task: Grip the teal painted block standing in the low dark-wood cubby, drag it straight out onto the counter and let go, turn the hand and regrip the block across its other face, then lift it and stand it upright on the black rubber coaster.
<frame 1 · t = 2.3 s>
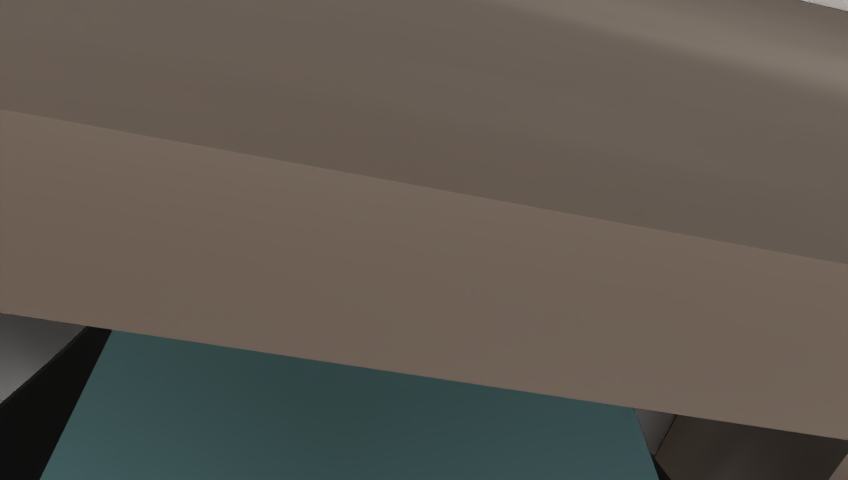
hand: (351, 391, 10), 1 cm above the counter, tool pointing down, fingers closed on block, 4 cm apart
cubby: (356, 322, 11), on the counter
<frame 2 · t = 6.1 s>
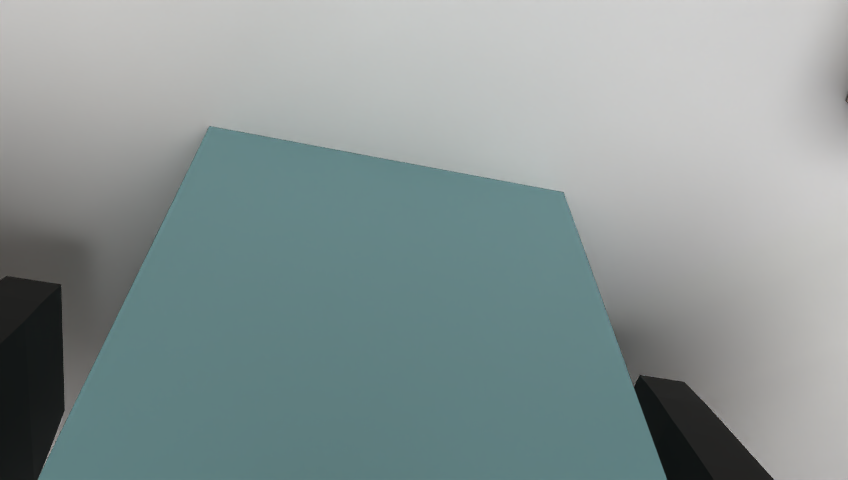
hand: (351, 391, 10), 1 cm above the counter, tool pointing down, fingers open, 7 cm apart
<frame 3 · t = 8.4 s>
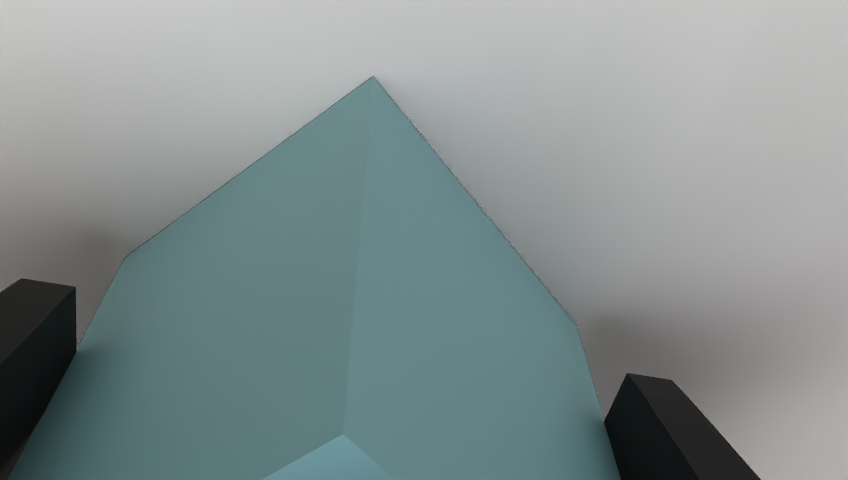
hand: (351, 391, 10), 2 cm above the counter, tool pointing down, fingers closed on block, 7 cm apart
block: (347, 446, 9), on the counter, touching gripper
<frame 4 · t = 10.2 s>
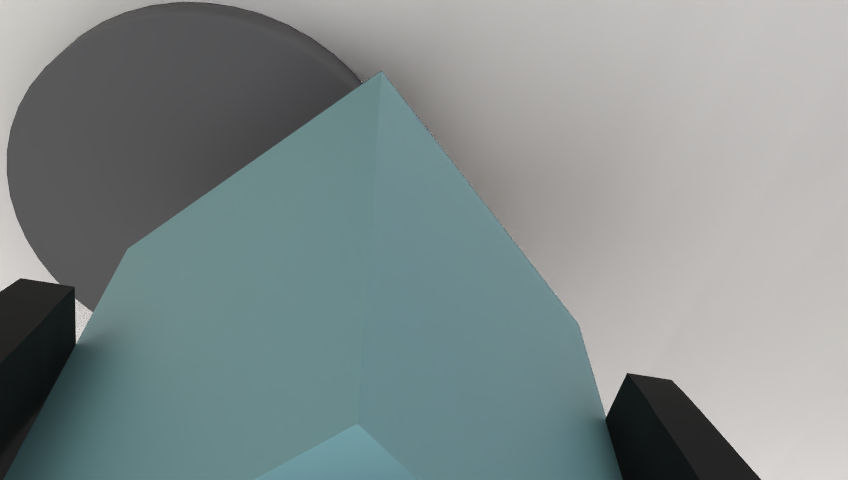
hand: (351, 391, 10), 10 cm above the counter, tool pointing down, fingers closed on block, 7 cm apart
coaster: (217, 187, 19), on the counter
block: (350, 441, 9), point 10 cm above the counter, touching gripper
when the fingers open (4 cm above the counter, at t = 12.2 s): block drops 1 cm, resting on coaster.
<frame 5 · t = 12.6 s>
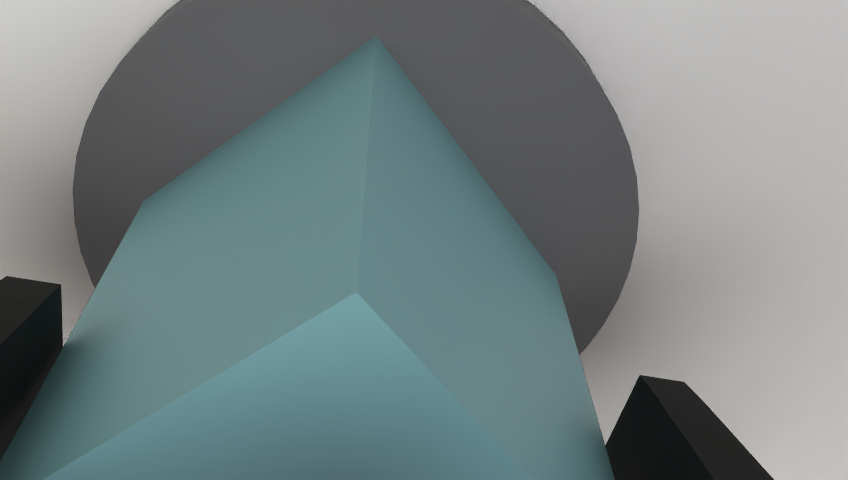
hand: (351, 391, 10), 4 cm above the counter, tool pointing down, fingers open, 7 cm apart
coaster: (362, 215, 14), on the counter
block: (347, 363, 10), on the coaster, point 4 cm above the counter
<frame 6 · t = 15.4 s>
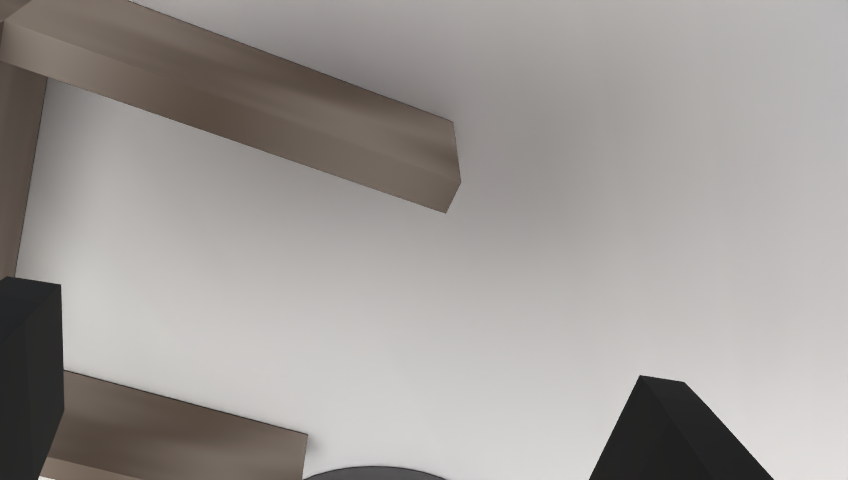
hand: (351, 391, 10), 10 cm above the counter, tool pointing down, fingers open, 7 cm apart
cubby: (204, 259, 21), on the counter
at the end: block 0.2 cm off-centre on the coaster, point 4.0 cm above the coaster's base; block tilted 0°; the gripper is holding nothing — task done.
